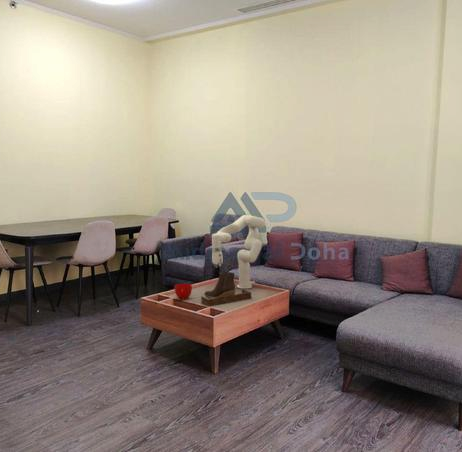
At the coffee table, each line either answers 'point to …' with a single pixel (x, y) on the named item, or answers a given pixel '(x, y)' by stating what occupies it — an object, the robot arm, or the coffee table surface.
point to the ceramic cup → (183, 291)
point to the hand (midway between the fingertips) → (217, 272)
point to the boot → (223, 286)
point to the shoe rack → (226, 298)
